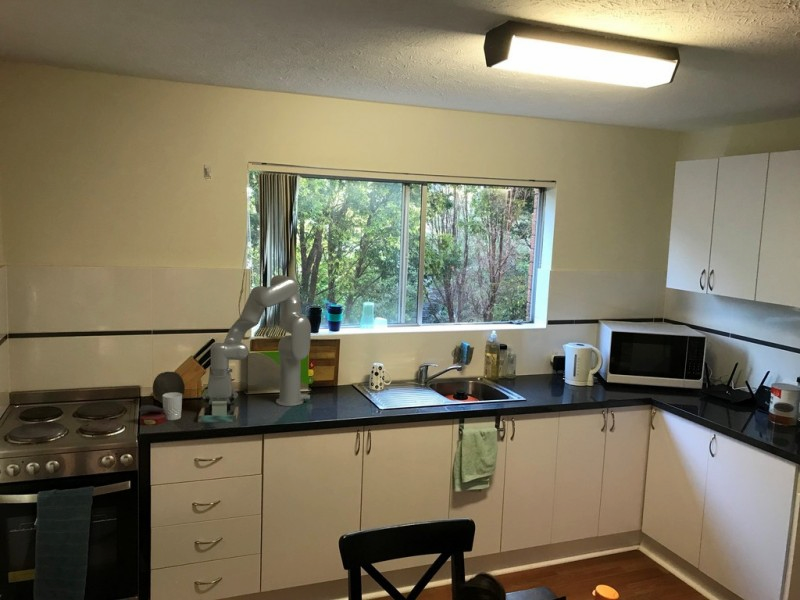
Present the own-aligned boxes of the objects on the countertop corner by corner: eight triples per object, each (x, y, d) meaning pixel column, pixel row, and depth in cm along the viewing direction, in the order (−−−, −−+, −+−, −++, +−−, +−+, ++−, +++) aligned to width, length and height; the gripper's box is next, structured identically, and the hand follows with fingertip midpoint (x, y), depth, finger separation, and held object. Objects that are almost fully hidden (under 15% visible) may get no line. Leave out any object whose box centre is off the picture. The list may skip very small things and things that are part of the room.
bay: (238, 412, 283) (238, 406, 282) (236, 421, 270) (236, 415, 270) (202, 413, 280) (202, 407, 280) (197, 422, 267) (197, 416, 267)
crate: (228, 411, 284) (228, 398, 283) (226, 415, 277) (226, 402, 277) (213, 411, 283) (213, 398, 282) (211, 416, 276) (211, 402, 276)
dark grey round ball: (192, 402, 295) (191, 371, 293) (169, 410, 282) (168, 377, 280) (168, 398, 300) (168, 367, 299) (145, 406, 288) (144, 373, 286)
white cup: (163, 421, 267) (162, 398, 266) (162, 416, 274) (161, 393, 273) (183, 419, 270) (183, 396, 269) (181, 414, 278) (181, 391, 276)
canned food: (139, 434, 265) (129, 412, 265) (160, 425, 273) (150, 404, 273) (154, 427, 258) (144, 404, 259) (174, 418, 267) (164, 396, 267)
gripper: (241, 369, 283) (240, 409, 285) (200, 369, 280) (200, 410, 282) (239, 373, 275) (239, 414, 278) (197, 374, 273) (198, 415, 275)
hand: (219, 411), depth 280 cm, fingers closed on crate, 6 cm apart
